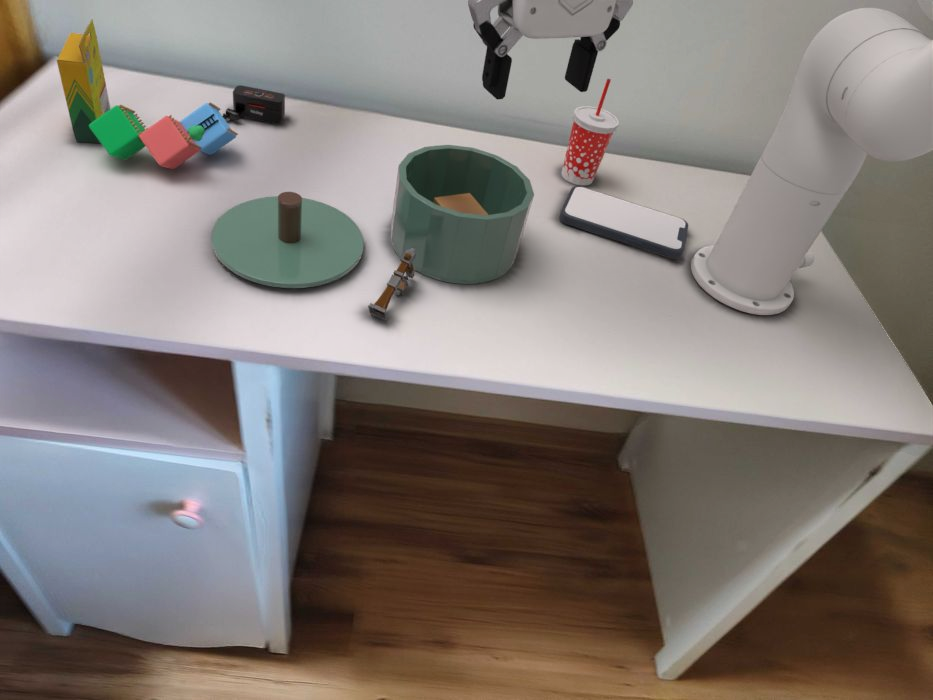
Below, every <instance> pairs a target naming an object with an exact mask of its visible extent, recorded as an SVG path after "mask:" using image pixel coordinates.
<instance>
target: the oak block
mask: <svg viewBox="0 0 933 700" xmlns="http://www.w3.org/2000/svg"><path fill="white" fill-rule="evenodd" d="M433 203H434V204H436V205H439V206H442V207H445V208H448V209H451V210H454V211H457V212H460V213H469V214H479V215H488V214H487V212H486V211H485V210H484V209H483V208H482V207H481V205H480V204H479V203H478V202H477V201H476V200H475V199H474V197H473V196H472V195H471V194H470V193H466V194H458V195H450V196H442V197H435V198H434V202H433Z"/></svg>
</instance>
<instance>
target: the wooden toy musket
mask: <svg viewBox="0 0 933 700" xmlns="http://www.w3.org/2000/svg"><path fill="white" fill-rule="evenodd" d="M415 252H416V251H415V249H414V248H411V249H409V250H406V253H405V254H404V256H403V258H402V259H400V263H399V265H398V267H397V268H396V269H395V270H394V271H392V272H393V274H391V276H390V279H389V280H388V281H387V283H386V287H385V288H384V290H383V292H382V293H381V295H379V296H378V299H377V300H376V301H375V302H374V303H372V302H370V303H369V304H368V305H367V308H368V311H369V312H368V313H369V314H370V315H372V316H374V317H376V318H379V319H381V320H384V321H386V322H387V318H388V314H387V309H388V307H389V304H390V303H391V300H392V297H393V295H394V294H395V295H396V296H401V294H402V295H404V294H405V293H404V292H405V290H406V288H407V287H408V288H409V280H410V279H413V278H414V276H415V273H416V272H415V271H416V270H414V268H413V263H412V262H413V260H414V259H415V258H416V257H415ZM409 278H410V279H409Z"/></svg>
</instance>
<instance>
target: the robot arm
mask: <svg viewBox="0 0 933 700" xmlns="http://www.w3.org/2000/svg"><path fill="white" fill-rule="evenodd" d="M916 1H917V3H918V6H919V8H920V9H921V11H922V12H923V13H924V14H925V15H926V16H927V17H928V18H929V19H930V20H931V21H932V22H933V0H916ZM633 4H634V0H468V1H467V6H468V9H469V13H470V16H471V20H472V22H473V29H474V30H475V32H476V33H477V35H478V36H479V38H480V39H481V40H482V41H481V42H482V43H483V44H484V45H485V47H486V50H485V57H484V61H483V62H484V63H483V68H482V75H481V81H482V87H483V89H484V90H486V91H487V92H488V93H489V94H490V95H491V96H492V97H493V98H495V99H496V100H504V98H506V93H507V88H508V83H509V78H510V74H511V68H512V64H513V63H512V62H513V58H512V57H511V56H510V55H509V54H508V53H509V52H510V51H511V50H512V49H513V48H514V46H515V45H516V44H517V43H518V42H519V41H520V40H521V38H523V37H524V38H527V39H531V40H532V39H533V40H545V39H546V40H547V39H548V40H549V39H566V38H567V39H568V38H571V39H572V38H576V39H574V42H573V43H572V46H571V51H570V54H569V58H568V62H567V66H566V70H565V73H564V80H565V81H566V82H567V83H568V84H569V85H570V86H572V87H573V88H575V89H576V90H577V91H579V92H580V93H586V92H587V91H588V90H589V86H590V83H591V79H592V76H593V71H594V68H595V64H596V61H597V57H598V53H599V52H602V51H604V50H605V49H606V47H607V43H608V42H607V41H609V39H610V38H611V37H612V36H613V35H614V34H615V33H616V32H618V30H619V29H620V26H621V22H622V21H623V20H624V18H625V17H626V15H628V13H629V12H630V10H631V9H632V6H633ZM496 7H497V15H498V17H497V18H496V19H495V21H494V22H493V23H492V20H491V19H492V18H491V12H492V10H493V9H494V8H496ZM579 38H580V39H579ZM786 101H787V102H786V104H785V107H784V109H783V112H782V114H781V115H780V118H779V120H778V122H777V124H776V127H775V128H774V131H773V132H772V135H771V137H770V139H769V141H768V143H767V145H766V146H765V148H764V150H763V151H762V153H761V155H760V158H759V159H758V161H757V163H756V165H755V166H754V168H753V170H752V172H751V174H750V176H749V178H748V180H747V182H746V184H745V186H744V187H743V190H742V192H741V194H740V196H739V197H738V199H737V201H736V203H735V205H734V207H733V209H732V210H731V213H730V214H729V216H728V218H727V220H726V222H725V224H724V226H723V228H722V230H721V232H720V234H719V235H718V237H717V239H716V241H715V243H714V244H710V245H706V246H703V247H701V248H700V249H698V250H697V251H696V252H695V254H694V255H693V257H692V259H691V262H690V270H691V274H692V276H693V278H694V280H695V281H696V283H698V285H699V286H700V287H701V288H702V289H703V290H704V291H705V292H706V293H707V294H708V295H710V296H711V297H712V298H714V299H715V300H716V301H719V302H720V303H721V304H723V305H726V306H728V307H730V308H732V309H734V310H736V311H740V312H743V313H748V314H751V315H758V316H772V315H777V314H780V313H782V312H785V311H786V310H787V309H788V308H789V307H790V305H791V303H792V302H793V300H794V297H795V289H794V286H793V283H792V282H791V281H790V280H791V278H792V277H793V275H794V274H795V272H797V271H798V270H799V269H802V268H806V267H810V266H812V265H813V264H814V262H815V255H814V253H812V252H811V251H810V249H811V247H812V246H813V244H814V243H815V241H816V239H817V238H818V236H819V235H820V233H821V232H822V231H823V229H824V227H825V225H826V224H827V222H828V221H829V219H830V218H831V217H832V215H833V213H834V211H835V210H836V208H837V207H838V205H839V204H840V202H842V201H841V200H842V199H843V198H844V196H845V194H846V193H847V191H848V190H849V189H850V188H851V185H852V184H853V182H854V181H855V179H856V178H857V176H858V174H859V172H860V171H861V169H862V166H863V165H864V162H865V161H866V157H867V155H868V156H871V157H872V158H873V159H877V160H879V161H883V162H903V161H908V160H909V161H910V160H912V159H915V158H918V157H919V158H920V156H921V157H922V156H923V155H926V154H928V153H930V152H932V151H933V39H931V38H930V37H929V36H928V35H927V34H925V33H924V32H923V31H921V30H920V29H918V28H917V27H916V26H914V25H913V24H912V23H910V22H909V21H908V20H906V19H905V18H903V17H901V16H899V15H898V14H897V13H894V12H892V11H890V10H886V9H883V8H878V7H861V8H855V9H852V10H848V11H847V12H846V11H845V12H844V13H842V14H839V15H838V16H836V17H835V18H833V19H832V20H830V21H828V23H826V24H825V26H823V27H822V28H821V29H820V30H819V31H818V32H817V33H816V34H815V36H814V37H813V39H812V40H811V41H810V43H809V45H808V46H807V48H806V50H805V52H804V54H803V55H802V58H801V61H800V63H799V65H798V69H797V71H796V74H795V78H794V81H793V83H792V86H791V90H790V92H789V96H788V99H787V100H786Z"/></svg>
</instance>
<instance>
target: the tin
mask: <svg viewBox="0 0 933 700" xmlns="http://www.w3.org/2000/svg"><path fill="white" fill-rule="evenodd" d="M395 183H396V184H395V191H394V199H393V206H392V207H393V208H392V213H391V214H392V215H391V221H390V236H389V237H390V243H391V246H392V249H393V251H394V252H395V254H396V255H397V256H398V258H399V259H400V260H401V259H402V258H403V256H404V254H405V253H406V250H409V249H411V248H414V249H415V251H416V252H415V257H416V258H415V259H414V260H413V262H412V263H413V268H414V270H415V271H416V272H418V273H420V274H422V275H424V276H425V277H430V278H431V279H433V280H437V281H441V282H445V283H449V284H459V285H477V284H483V283H487V282H492V281H494V280H497V279H499V278H501V277H502V276H504V275H505V274H506V273H508V272H509V271H510V269H511V268H512V266H513V265H514V263H515V261H516V257H517V255H518V252H519V249H520V245H521V241H522V238H523V234H524V231H525V227H526V225H527V221H528V218H529V214H530V211H531V207H532V203H533V200H534V196H535V193H534V190H533V185H532V182H531V180H530V179H529V177H528V176H526V175H525V173H524V172H523V171H521V169H520V168H519V167H518V166H517V165H515V164H514V163H511V162H510V161H508V160H506V159H504V158H502V157H501V156H499V155H497V154H494V153H492V152H487V151H485V150H482V149H479V148H475V147H471V146H463V145H454V144H441V145H431V146H428V145H427V146H423V147H421V148H418V149H416V150H413V151H411V152H409V153H408V154H406V155H405V157H404V158H403V159H402V160H401V162H400V163H399V164H398V168H397V175H396V182H395ZM466 193H470V194H471V195H472V196H473V197H474V199H475V200H476V201H477V202H478V203H479V204H480V205H481V207H482V208H483V209H484V210H485V211H486V212H487V214H488V215H479V214H469V213H460V212H457V211H454V210H451V209H448V208H445V207H442V206H439V205H436V204H434V203H433V202H434V198H435V197H442V196H450V195H458V194H466Z"/></svg>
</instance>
